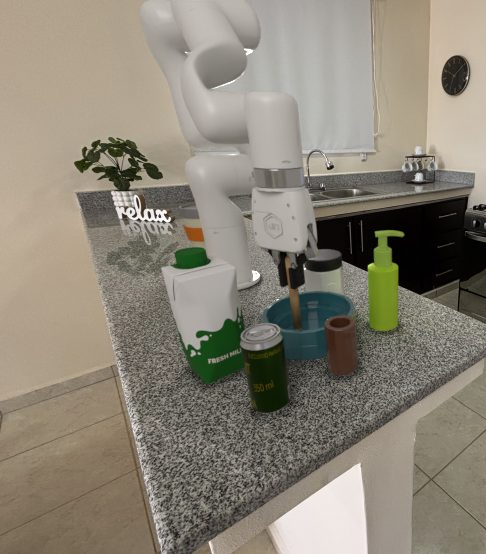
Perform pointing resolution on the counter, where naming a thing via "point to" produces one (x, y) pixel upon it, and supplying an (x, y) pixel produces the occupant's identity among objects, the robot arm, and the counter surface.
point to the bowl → (307, 321)
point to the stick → (294, 301)
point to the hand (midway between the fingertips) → (292, 284)
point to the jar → (325, 272)
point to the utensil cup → (341, 344)
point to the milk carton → (206, 312)
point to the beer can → (265, 367)
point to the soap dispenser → (383, 285)
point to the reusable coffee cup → (192, 224)
